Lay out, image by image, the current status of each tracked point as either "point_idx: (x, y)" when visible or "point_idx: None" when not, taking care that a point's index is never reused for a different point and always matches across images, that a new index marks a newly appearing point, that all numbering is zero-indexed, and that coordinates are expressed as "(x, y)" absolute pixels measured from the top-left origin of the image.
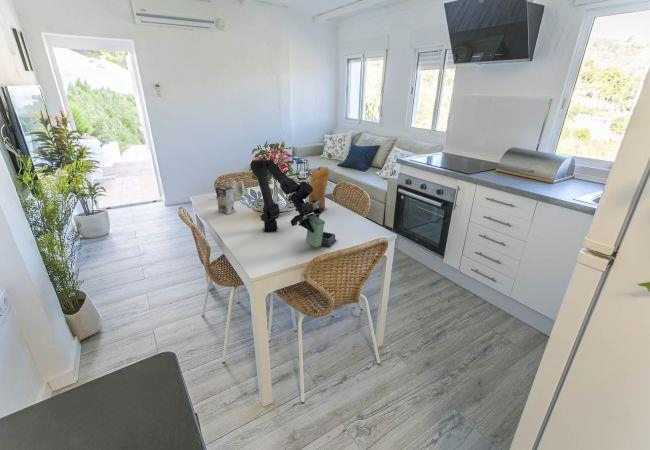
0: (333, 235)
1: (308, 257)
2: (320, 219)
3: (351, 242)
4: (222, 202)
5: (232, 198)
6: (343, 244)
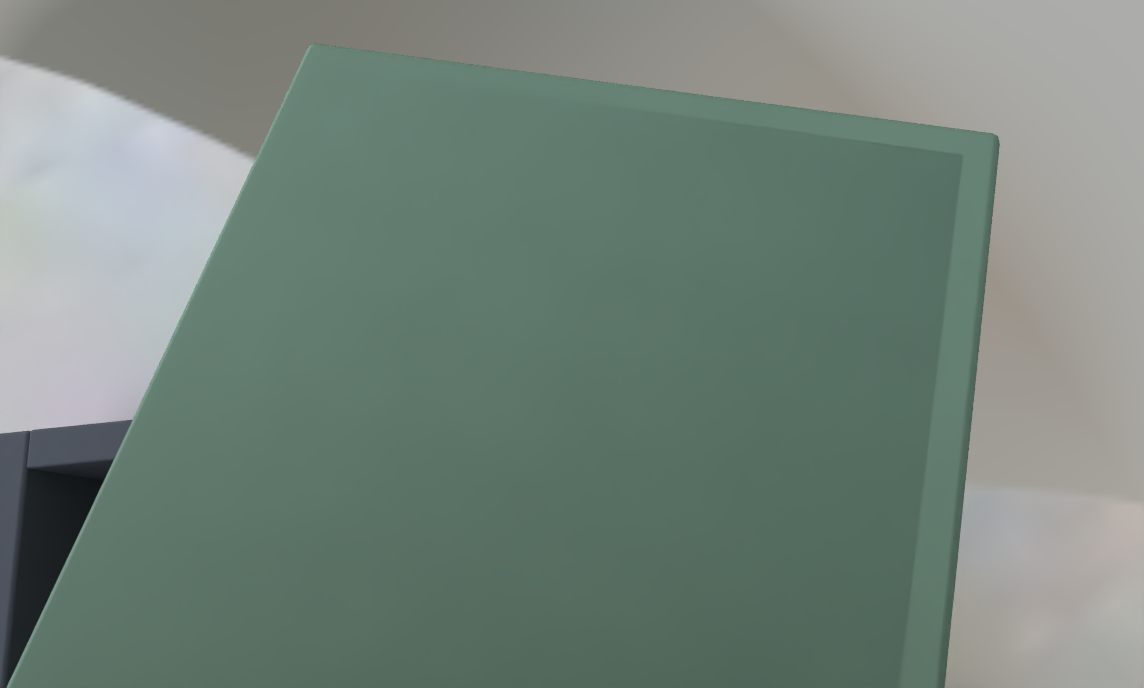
0: (78, 431)
1: (1012, 534)
2: (235, 423)
3: (45, 182)
4: None
5: None
6: (177, 256)
